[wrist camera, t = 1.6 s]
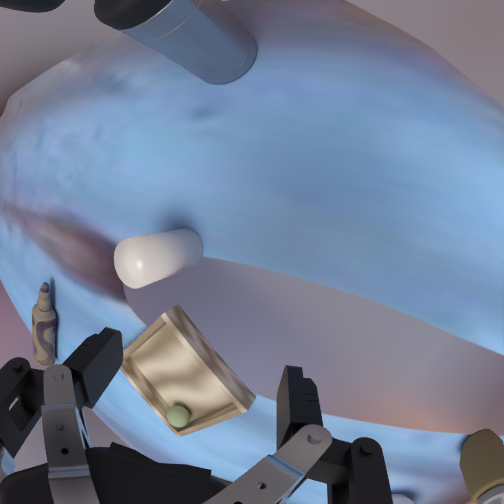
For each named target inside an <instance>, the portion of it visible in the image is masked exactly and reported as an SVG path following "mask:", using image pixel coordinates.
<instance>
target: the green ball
mask: <svg viewBox="0 0 504 504" xmlns="http://www.w3.org/2000/svg"><path fill="white" fill-rule="evenodd" d="M167 419H168V421H169V423H170V424H171V425H173V426H175V427H184V426H185V425H187V424H188V422H189V420H190V415H189V412H188V411H187V410H186V409H185V408H184V407H182V406H174V407H171V408H170V409H169V410H168V412H167Z"/></svg>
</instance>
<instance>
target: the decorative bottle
mask: <svg viewBox="0 0 504 504" xmlns="http://www.w3.org/2000/svg"><path fill="white" fill-rule="evenodd" d="M51 305H52V303H51V300H50V290H49V284H48V283H46V282H44V283H43V285H42V286H41V289H40V291H39V298H38V301H37V304H35V305H34V307H33V308H32V331H33V332H32V333H33V349H34V354H33V355H34V359H35V361H36V362H37V363H38V364H39V365H40V366H42V367H47V368H48V367H49V366H52V365H54V363H55V331H56V329H57V316H56V312H55V309H54V308H53V306H51ZM55 326H56V329H55Z"/></svg>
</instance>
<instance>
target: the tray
mask: <svg viewBox="0 0 504 504" xmlns="http://www.w3.org/2000/svg"><path fill="white" fill-rule="evenodd" d="M120 369H121V371H122V372H123V373H124V375H125V376H126V377H127V379H128V380H129V381H130V383H131V384H132V385H133V386H134V388H135V389H136V390H137V391H138V393H139V394H140V395H141V396H142V397H143V399H144V400H145V401H146V402H147V403H148V405H149V406H150V407H151V408H152V409H153V410H154V411H155V413H156V414H157V415H158V416H159V417H160V418H161V419H162V420H163V421H164V423H165V424H166V425H167V426H168V427H169V428H170V429H171V430H172V431H173V432H174V433H175V434H176V435H177V436H178V437H181V436H184V435H187V434H190V433H193V432H196V431H198V430H201V429H204V428H207V427H209V426H212V425H215V424H217V423H220V422H223V421H225V420H228V419H230V418H232V417H235V416H237V415H240V414H242V413H244V412H247V411H248V410H249V408H250V407H251V405H252V403H253V402H254V400H255V398H256V397H255V396H254V394H253V393H252V392H251V391H249V389H248V388H247V387H246V386H245V385H244V383H243V382H242V381H241V380H240V379H239V378H238V377H237V376H236V375H235V373H234V372H233V371H232V370H231V369H230V367H229V366H228V365H227V364H226V363H225V362H224V360H223V359H222V358H221V357H220V356H219V355H218V353H217V352H216V351H215V350H214V349H213V347H212V346H211V345H210V344H209V342H208V341H207V340H206V339H205V338H204V336H203V335H202V334H201V333H200V331H199V330H198V329H197V328H196V326H195V325H194V324H193V322H192V321H191V320H190V319H189V317H188V316H187V315H186V313H185V312H184V311H183V310H182V308H181V307H180V306H179V305H177V306H175V307H173V308H171V309H169V310H168V311H166V312H165V313H163V314H162V315H161V316H160V317H159V318H158V319H157V320H156V321H155V322H154V323H153V324H152V325H151V326H150V327H148V328H147V329H146V330H145V331H144V332H143V333H142V334H141V335H140V336H139V337H138V338H137V339H136V340H135V341H134V342H133V343H132V344H131V345H130V346H129V347H128V348H127V349H126V350H124V351H123V362H122V365H121V367H120ZM174 406H182V407H184V408H185V409H186V410H187V411H188V412H189V415H190V420H189V422H188V424H187V425H185V426H184V427H175V426H173V425H171V424H170V423H169V421H168V419H167V412H168V410H169V409H170V408H171V407H174Z"/></svg>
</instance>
